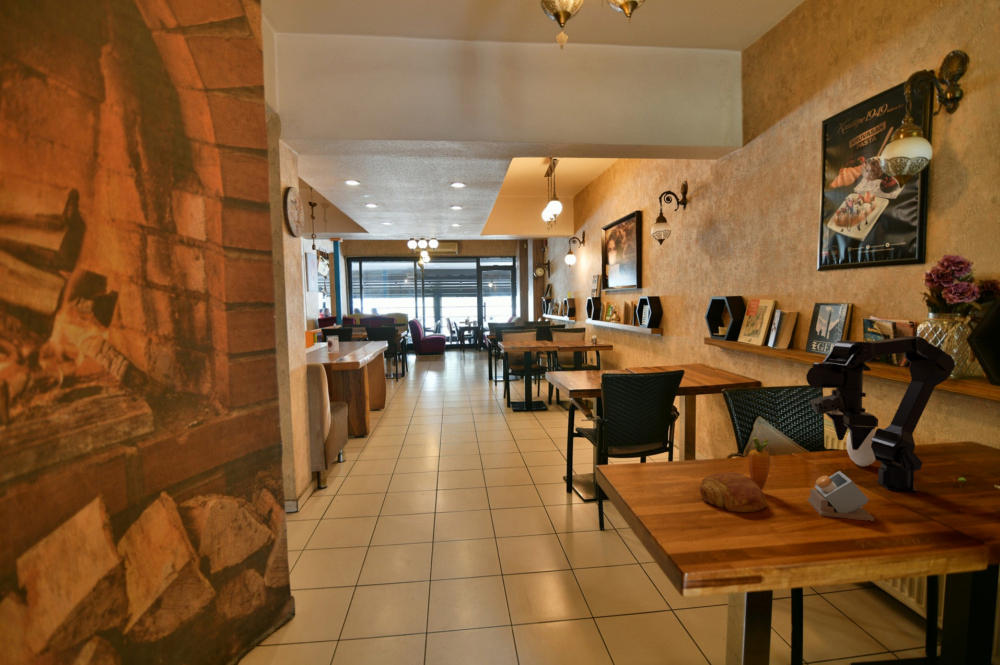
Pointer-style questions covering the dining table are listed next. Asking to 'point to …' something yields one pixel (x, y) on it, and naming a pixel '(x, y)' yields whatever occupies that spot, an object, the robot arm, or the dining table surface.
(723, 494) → the croissant
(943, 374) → the robot arm
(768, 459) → the carrot
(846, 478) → the leaning socket
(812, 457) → the dining table surface
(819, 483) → the orange-topped white peg
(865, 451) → the sauce bottle
